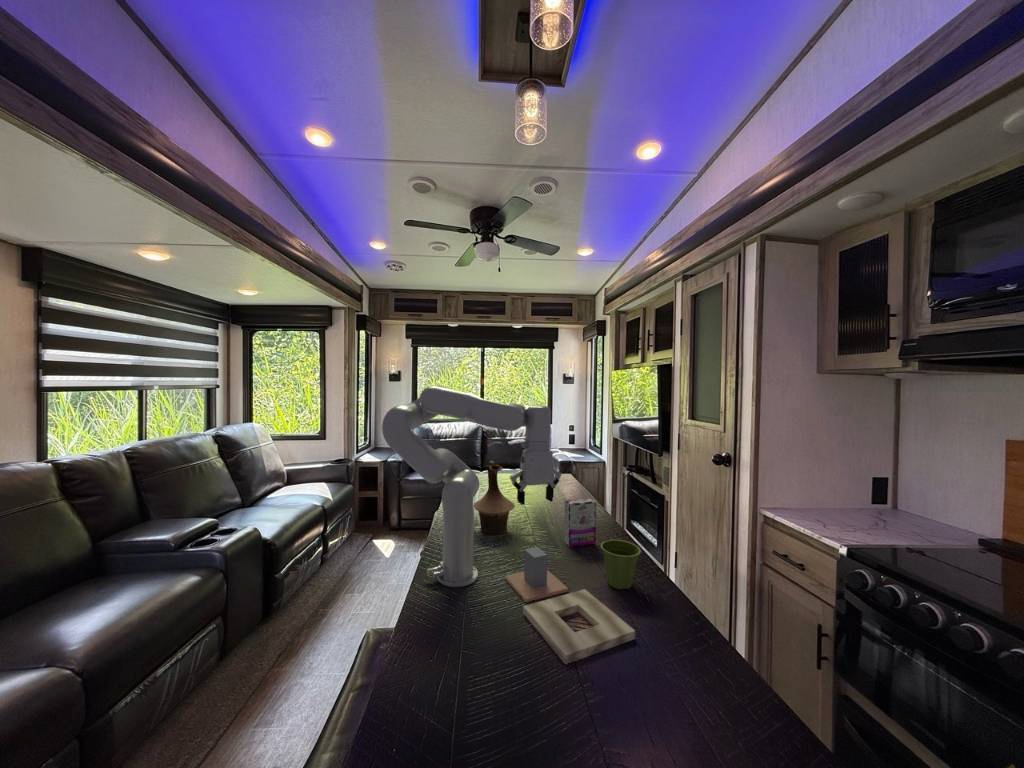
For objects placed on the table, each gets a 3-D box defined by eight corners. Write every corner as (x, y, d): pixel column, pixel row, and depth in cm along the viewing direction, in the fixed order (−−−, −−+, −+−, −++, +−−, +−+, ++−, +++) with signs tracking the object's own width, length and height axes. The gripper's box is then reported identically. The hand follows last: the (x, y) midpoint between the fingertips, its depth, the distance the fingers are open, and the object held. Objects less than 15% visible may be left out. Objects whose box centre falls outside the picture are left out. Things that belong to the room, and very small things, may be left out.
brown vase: (468, 524, 162) (469, 459, 162) (505, 520, 168) (506, 457, 168) (479, 541, 146) (480, 468, 146) (520, 535, 152) (521, 465, 152)
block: (533, 588, 112) (534, 557, 112) (524, 578, 117) (524, 549, 117) (546, 584, 114) (547, 554, 114) (536, 575, 119) (537, 546, 119)
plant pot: (642, 597, 110) (643, 558, 110) (600, 591, 112) (601, 553, 112) (637, 576, 122) (638, 541, 121) (599, 572, 124) (600, 537, 124)
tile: (526, 602, 106) (526, 599, 106) (504, 578, 119) (504, 575, 119) (568, 591, 112) (568, 588, 112) (543, 569, 125) (543, 566, 125)
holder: (565, 664, 83) (565, 655, 83) (523, 613, 101) (523, 606, 101) (634, 638, 92) (635, 630, 92) (584, 596, 110) (584, 589, 110)
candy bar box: (589, 539, 150) (590, 497, 149) (595, 544, 145) (596, 501, 145) (563, 542, 147) (564, 499, 146) (568, 547, 142) (569, 503, 142)
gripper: (517, 449, 109) (514, 508, 110) (568, 447, 117) (566, 502, 117) (506, 445, 116) (504, 500, 117) (555, 443, 123) (553, 495, 124)
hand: (535, 501), depth 117 cm, fingers open, 9 cm apart
